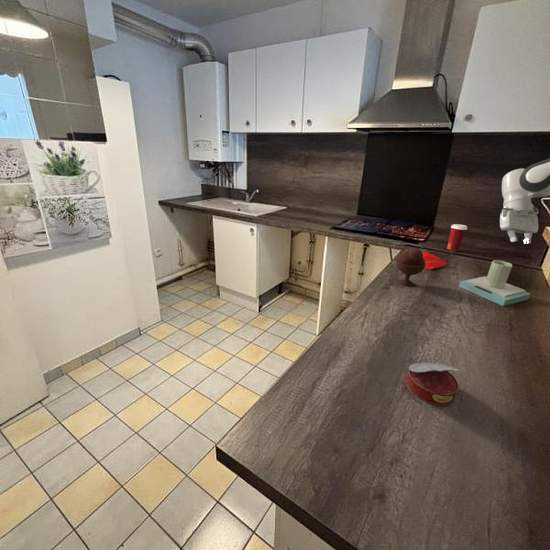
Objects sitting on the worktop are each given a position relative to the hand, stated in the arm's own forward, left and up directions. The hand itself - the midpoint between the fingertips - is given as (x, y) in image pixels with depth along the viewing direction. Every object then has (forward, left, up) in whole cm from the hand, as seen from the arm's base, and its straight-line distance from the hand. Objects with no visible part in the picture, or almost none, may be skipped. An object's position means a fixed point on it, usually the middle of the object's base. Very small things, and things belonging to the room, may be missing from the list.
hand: (520, 242), depth 117 cm
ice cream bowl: (+12, +45, -17) cm, 49 cm away
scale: (-6, +19, -17) cm, 26 cm away
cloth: (+28, +12, -17) cm, 35 cm away
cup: (-6, +19, -14) cm, 24 cm away
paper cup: (+37, -15, -17) cm, 44 cm away
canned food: (-33, +84, -17) cm, 92 cm away
